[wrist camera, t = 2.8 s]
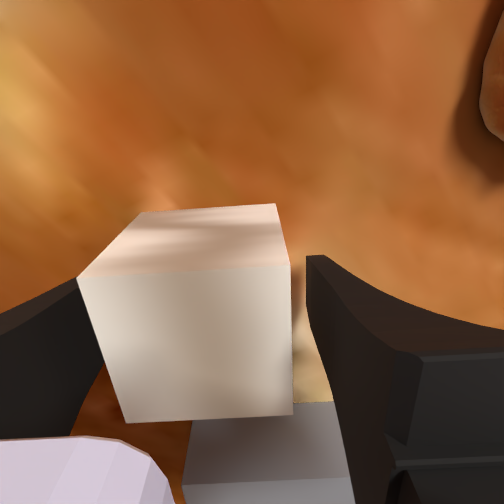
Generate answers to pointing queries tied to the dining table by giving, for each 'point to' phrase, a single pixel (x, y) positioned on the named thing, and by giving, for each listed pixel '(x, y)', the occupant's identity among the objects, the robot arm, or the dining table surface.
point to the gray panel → (269, 459)
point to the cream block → (195, 314)
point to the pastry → (494, 84)
